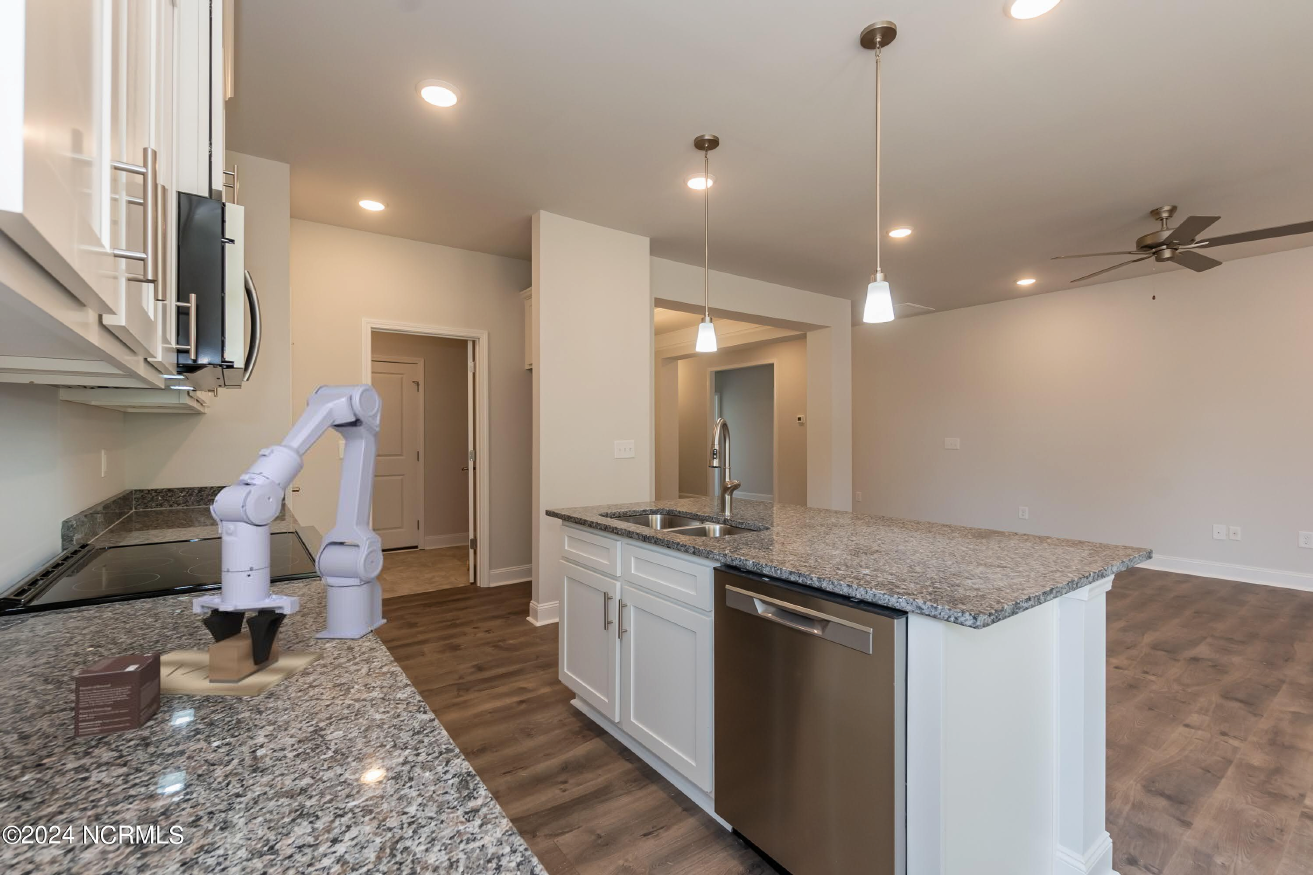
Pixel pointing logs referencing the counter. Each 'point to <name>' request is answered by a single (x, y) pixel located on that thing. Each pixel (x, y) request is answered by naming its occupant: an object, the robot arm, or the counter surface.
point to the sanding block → (237, 659)
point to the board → (192, 678)
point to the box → (117, 694)
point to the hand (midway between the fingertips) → (246, 662)
